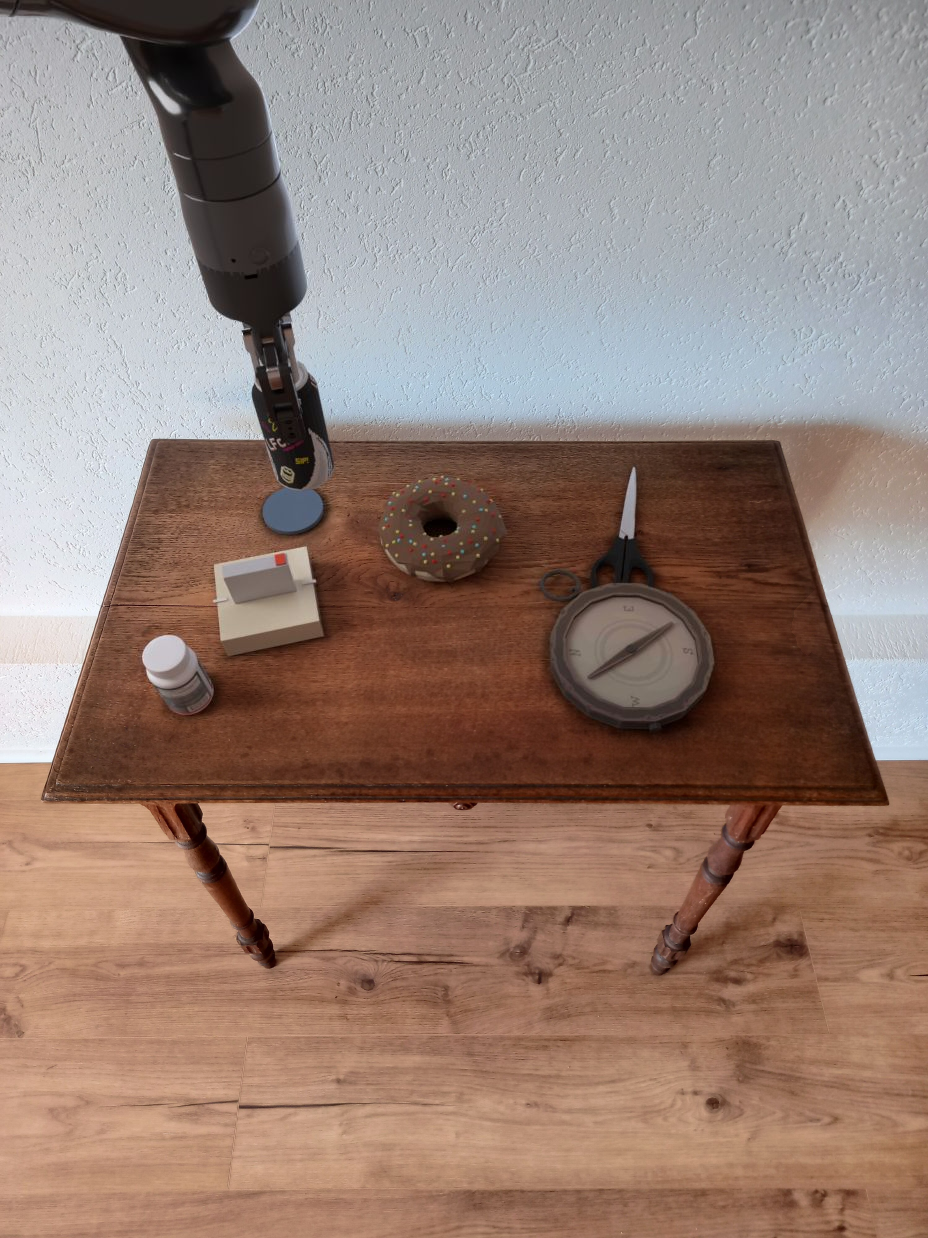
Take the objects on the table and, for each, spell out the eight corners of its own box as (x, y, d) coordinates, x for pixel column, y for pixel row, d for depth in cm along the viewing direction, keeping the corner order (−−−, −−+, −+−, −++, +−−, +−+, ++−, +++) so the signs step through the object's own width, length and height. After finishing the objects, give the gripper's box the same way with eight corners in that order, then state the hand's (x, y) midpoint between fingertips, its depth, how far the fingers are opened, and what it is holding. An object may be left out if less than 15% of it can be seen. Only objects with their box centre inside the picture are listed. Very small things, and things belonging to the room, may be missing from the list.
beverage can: (267, 490, 77) (235, 391, 67) (288, 448, 80) (261, 348, 70) (323, 500, 77) (300, 402, 67) (343, 458, 80) (323, 357, 70)
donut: (365, 578, 89) (359, 549, 85) (402, 487, 96) (398, 457, 92) (491, 604, 86) (491, 576, 82) (519, 510, 94) (521, 480, 90)
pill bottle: (171, 675, 82) (143, 630, 75) (218, 674, 82) (193, 630, 75) (162, 716, 80) (132, 675, 73) (210, 716, 80) (184, 674, 73)
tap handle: (234, 604, 83) (222, 576, 79) (233, 591, 84) (220, 564, 80) (297, 591, 84) (288, 563, 80) (295, 579, 85) (286, 551, 81)
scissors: (602, 466, 97) (587, 602, 86) (602, 461, 96) (588, 598, 86) (658, 473, 96) (651, 611, 86) (659, 467, 95) (652, 606, 85)
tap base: (224, 657, 83) (216, 641, 81) (217, 581, 89) (209, 563, 86) (327, 635, 85) (322, 619, 82) (314, 562, 90) (309, 544, 87)
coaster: (266, 540, 92) (265, 536, 91) (260, 495, 96) (259, 491, 95) (327, 528, 93) (327, 524, 92) (319, 484, 96) (318, 480, 96)
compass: (731, 727, 78) (736, 718, 76) (563, 745, 77) (565, 736, 76) (679, 559, 89) (683, 548, 87) (532, 574, 88) (533, 563, 87)
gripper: (188, 191, 62) (242, 370, 76) (196, 304, 54) (254, 480, 68) (286, 178, 62) (322, 357, 77) (308, 288, 55) (343, 465, 69)
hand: (290, 414), depth 72 cm, fingers closed on beverage can, 5 cm apart
